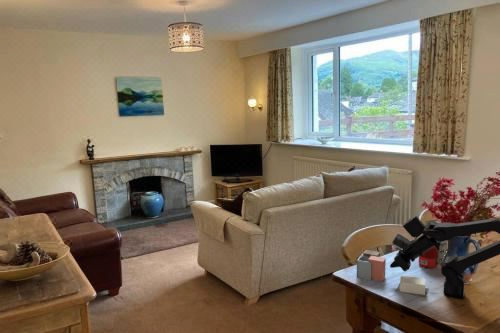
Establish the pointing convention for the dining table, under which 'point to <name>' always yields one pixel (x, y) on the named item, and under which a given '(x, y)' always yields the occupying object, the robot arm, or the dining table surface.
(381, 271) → the salmon pink block
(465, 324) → the dining table surface
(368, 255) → the walnut plug
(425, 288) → the rubber mat
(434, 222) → the coffee box
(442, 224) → the robot arm
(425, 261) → the canned food
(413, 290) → the cream rectangular block
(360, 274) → the socket block
